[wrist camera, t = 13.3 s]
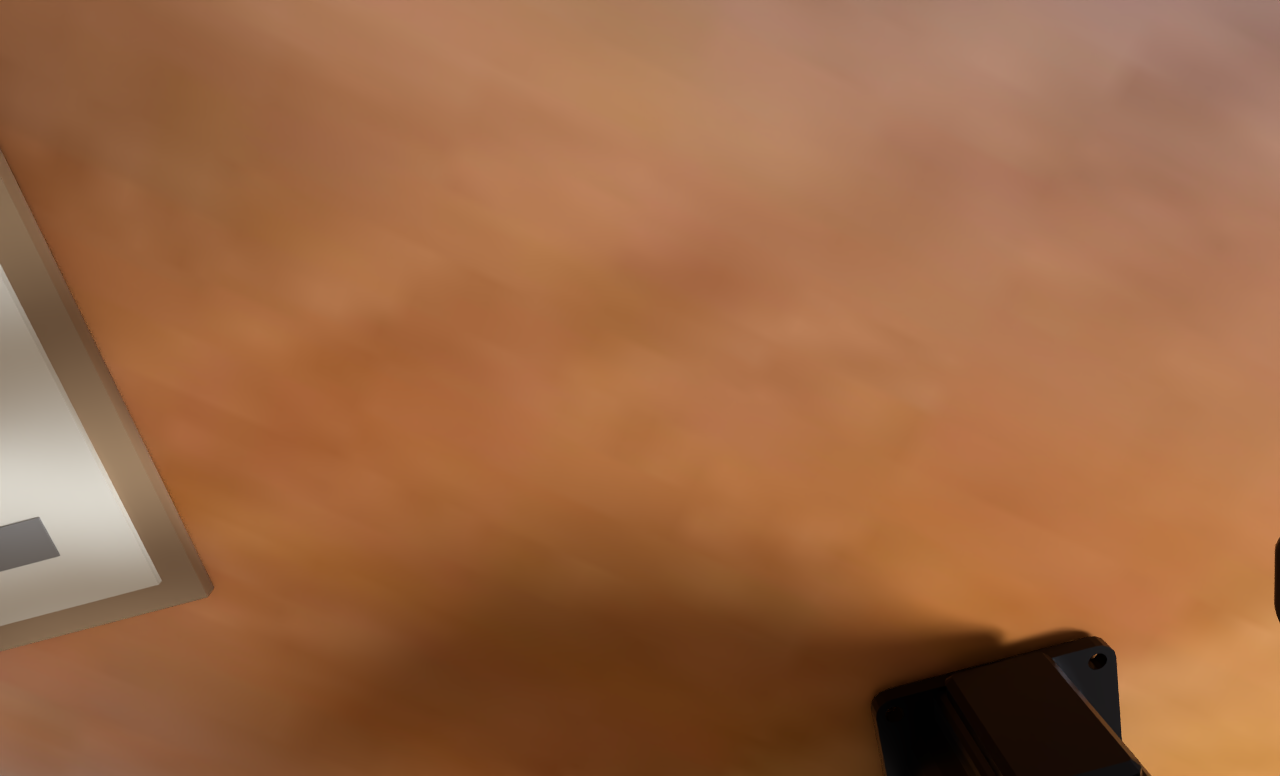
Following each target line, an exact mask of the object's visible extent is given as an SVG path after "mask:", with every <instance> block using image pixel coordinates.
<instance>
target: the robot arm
mask: <svg viewBox="0 0 1280 776" xmlns="http://www.w3.org/2000/svg"><path fill="white" fill-rule="evenodd" d="M1274 605H1275V610H1276V614H1277V617H1278V619H1279V622H1280V538H1279V539H1278V541H1277V543H1276V546H1275V588H1274ZM1095 654H1097V655H1096V656H1095V658H1093V659H1091V660H1089V659H1090V658H1091V657H1092V656H1093V655H1095ZM892 707H897V708H896V709H895V710H894V711H892V712H887V711H888V709H890V708H892ZM871 711H872V716H873V722H874V727H875V732H876V737H877V743H878V748H879V753H880V758H881V764H882V769H883V774H884V776H1151V775H1150V774H1149V772H1148V771H1147V770H1146V769H1145V768H1144V767H1143V765H1142V764H1141V763H1140V762H1139V760H1138V759H1137V758H1136V757H1135V756H1134V754H1133V753H1132V752H1131V751H1130V750H1129V749H1128V747H1127V746H1126V745H1125V744H1124V743H1123V742H1122V737H1121V722H1120V707H1119V692H1118V677H1117V662H1116V655H1115V652H1114V650H1113V649H1112V648H1111V647H1110V646H1109V645H1108V644H1107V643H1106V642H1105V641H1104V640H1103V639H1101V638H1099V637H1095V636H1093V637H1086V638H1082V639H1078V640H1074V641H1071V642H1067V643H1063V644H1059V645H1055V646H1051V647H1048V648H1044V649H1040V650H1036V651H1032V652H1029V653H1025V654H1021V655H1017V656H1013V657H1009V658H1006V659H1002V660H998V661H994V662H990V663H986V664H983V665H979V666H975V667H971V668H967V669H963V670H960V671H956V672H952V673H948V674H944V675H940V676H937V677H933V678H929V679H925V680H921V681H918V682H914V683H910V684H906V685H902V686H898V687H895V688H891V689H887V690H884V691H882V692H880V693H879V694H878V695H876V696H875V697H874V699H873V701H872V703H871Z"/></svg>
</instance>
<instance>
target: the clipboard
mask: <svg viewBox="0 0 1280 776" xmlns="http://www.w3.org/2000/svg"><path fill="white" fill-rule="evenodd" d="M213 589H214V586H213V584H212V582H211V580H210V578H209V576H208V574H207V572H206V570H205V568H204V566H203V564H202V562H201V560H200V558H199V555H198V553H197V551H196V549H195V547H194V545H193V543H192V541H191V539H190V537H189V535H188V533H187V531H186V529H185V527H184V525H183V523H182V521H181V519H180V516H179V514H178V512H177V510H176V508H175V506H174V504H173V502H172V500H171V498H170V496H169V494H168V492H167V490H166V488H165V486H164V484H163V482H162V480H161V477H160V475H159V473H158V471H157V469H156V467H155V465H154V463H153V461H152V459H151V457H150V455H149V453H148V451H147V449H146V447H145V445H144V443H143V441H142V438H141V436H140V434H139V432H138V430H137V428H136V426H135V424H134V422H133V420H132V418H131V416H130V414H129V412H128V410H127V408H126V406H125V404H124V402H123V399H122V397H121V395H120V393H119V391H118V389H117V387H116V385H115V383H114V381H113V379H112V377H111V375H110V373H109V371H108V369H107V367H106V365H105V362H104V360H103V358H102V356H101V354H100V352H99V350H98V348H97V346H96V344H95V342H94V340H93V338H92V336H91V334H90V332H89V330H88V328H87V326H86V323H85V321H84V319H83V317H82V315H81V313H80V311H79V309H78V307H77V305H76V303H75V301H74V299H73V297H72V295H71V293H70V291H69V289H68V287H67V284H66V282H65V280H64V278H63V276H62V274H61V272H60V270H59V268H58V266H57V264H56V262H55V260H54V258H53V256H52V254H51V252H50V250H49V248H48V245H47V243H46V241H45V239H44V237H43V235H42V233H41V231H40V229H39V227H38V225H37V223H36V221H35V219H34V217H33V215H32V213H31V211H30V209H29V206H28V204H27V202H26V200H25V198H24V196H23V194H22V192H21V190H20V188H19V186H18V184H17V182H16V180H15V178H14V176H13V174H12V172H11V170H10V167H9V165H8V163H7V161H6V159H5V157H4V155H3V153H2V151H1V149H0V651H4V650H8V649H12V648H16V647H20V646H23V645H27V644H31V643H35V642H39V641H42V640H46V639H50V638H54V637H58V636H62V635H65V634H69V633H73V632H77V631H81V630H84V629H88V628H92V627H96V626H100V625H103V624H107V623H111V622H115V621H119V620H123V619H126V618H130V617H134V616H138V615H142V614H145V613H149V612H153V611H157V610H161V609H165V608H168V607H172V606H176V605H180V604H184V603H187V602H191V601H195V600H199V599H203V598H207V597H208V596H209V595H210V593H211V592H212V590H213Z"/></svg>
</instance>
